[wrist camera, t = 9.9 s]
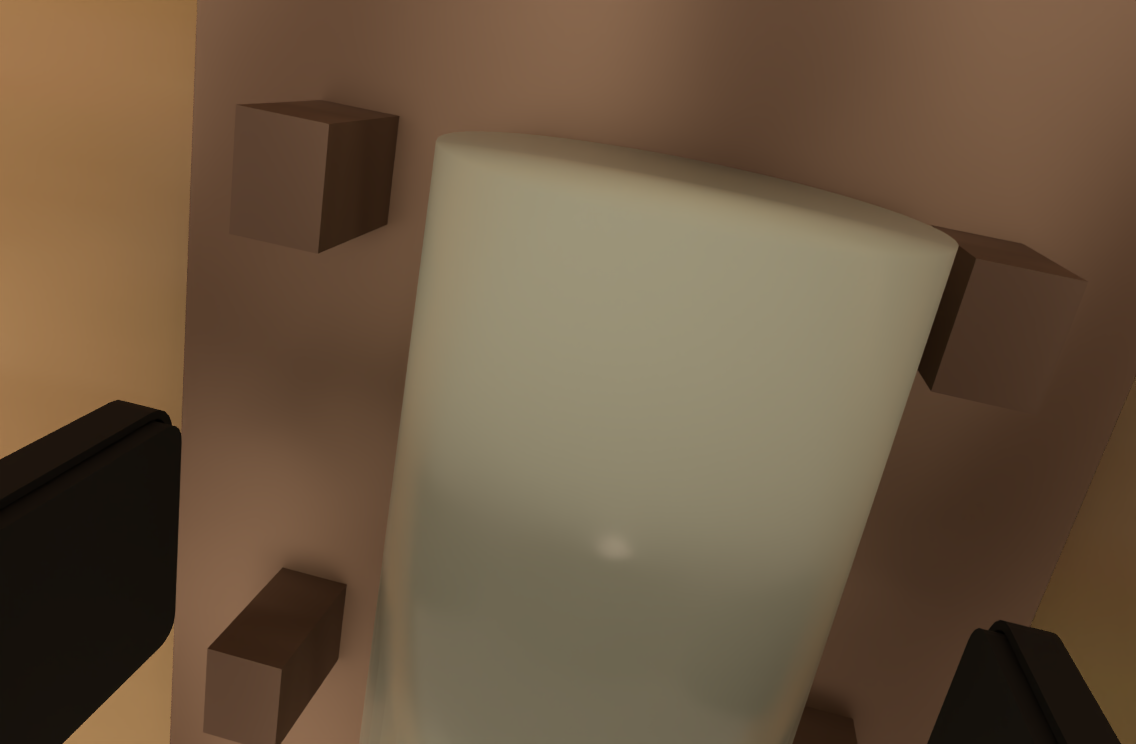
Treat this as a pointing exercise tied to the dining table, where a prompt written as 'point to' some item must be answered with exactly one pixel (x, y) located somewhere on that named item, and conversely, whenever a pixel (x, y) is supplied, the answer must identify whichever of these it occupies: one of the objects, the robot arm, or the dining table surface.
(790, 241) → the sage bottle
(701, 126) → the walnut cradle
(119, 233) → the dining table surface
